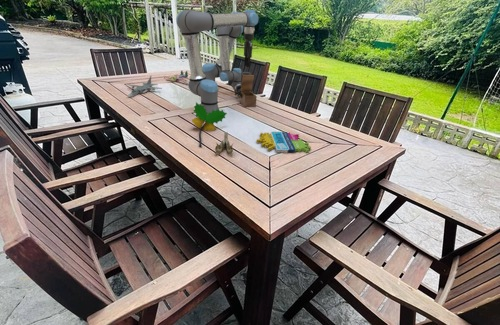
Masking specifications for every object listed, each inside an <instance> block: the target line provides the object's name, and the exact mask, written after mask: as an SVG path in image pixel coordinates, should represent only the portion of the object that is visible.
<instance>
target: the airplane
mask: <svg viewBox="0 0 500 325" xmlns="http://www.w3.org/2000/svg"><path fill="white" fill-rule="evenodd" d="M158 85H159V84H158V83H152V75H150V76H149V78H148V80H147V82H142V85H138V84H137V85H136V84H129V83H128V84H127V86H129V87H131V88H130V90H131V92H130V93H129V94H128V95H127V98H133V97H135V96H137V95H139V94H145V93H147V92H150V91H151V93H152V92H154V91H155V90H156V89H159V90H160V89H162V87H155V86H158Z"/></svg>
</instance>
